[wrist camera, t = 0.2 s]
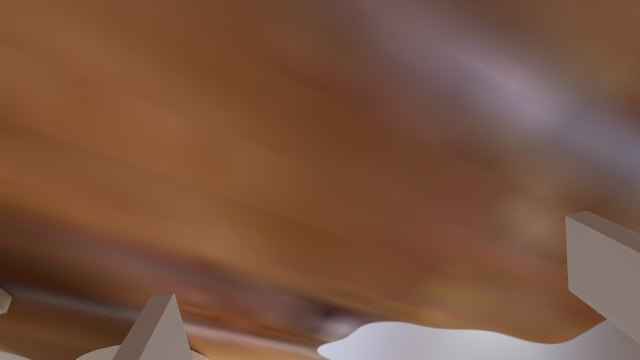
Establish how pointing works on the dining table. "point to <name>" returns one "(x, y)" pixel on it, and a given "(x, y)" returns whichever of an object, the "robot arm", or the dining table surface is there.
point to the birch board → (4, 301)
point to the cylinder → (104, 356)
